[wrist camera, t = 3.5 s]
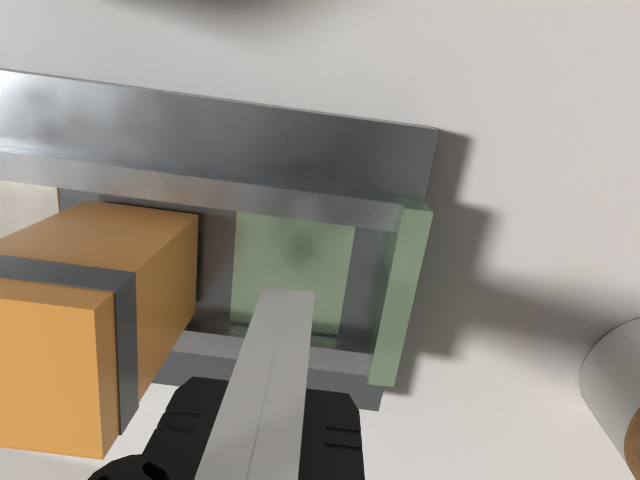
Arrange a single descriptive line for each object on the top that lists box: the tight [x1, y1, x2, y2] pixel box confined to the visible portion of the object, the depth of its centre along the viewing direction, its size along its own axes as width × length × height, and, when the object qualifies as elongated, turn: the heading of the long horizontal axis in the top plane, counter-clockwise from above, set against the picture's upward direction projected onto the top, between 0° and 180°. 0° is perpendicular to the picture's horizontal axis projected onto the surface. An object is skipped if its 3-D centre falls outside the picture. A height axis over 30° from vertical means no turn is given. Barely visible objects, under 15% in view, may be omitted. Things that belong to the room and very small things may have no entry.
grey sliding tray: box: [0, 68, 440, 411], centre depth 16 cm, size 20×12×3 cm, turn 83°
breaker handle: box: [0, 200, 198, 460], centre depth 12 cm, size 4×4×7 cm
